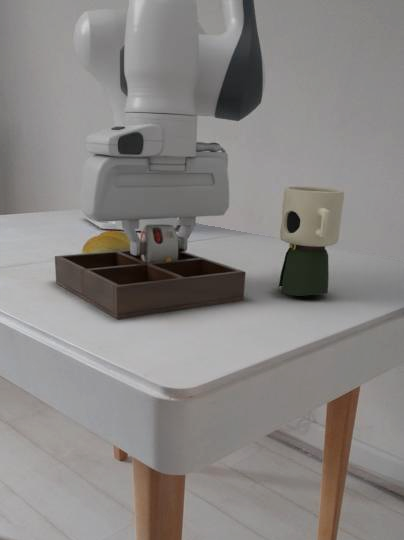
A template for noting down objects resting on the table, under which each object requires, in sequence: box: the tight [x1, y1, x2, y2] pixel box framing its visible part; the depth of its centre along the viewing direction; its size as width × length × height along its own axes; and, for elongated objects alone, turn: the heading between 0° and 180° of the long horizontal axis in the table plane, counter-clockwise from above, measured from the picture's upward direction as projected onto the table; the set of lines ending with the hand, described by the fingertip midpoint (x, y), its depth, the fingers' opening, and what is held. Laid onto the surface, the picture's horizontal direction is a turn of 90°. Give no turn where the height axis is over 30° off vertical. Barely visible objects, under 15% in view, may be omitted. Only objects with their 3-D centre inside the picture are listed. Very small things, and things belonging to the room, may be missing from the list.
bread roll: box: [81, 230, 130, 254], centre depth 87 cm, size 8×9×4 cm
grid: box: [54, 250, 247, 320], centre depth 70 cm, size 17×17×4 cm
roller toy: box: [139, 225, 178, 263], centre depth 74 cm, size 4×6×6 cm
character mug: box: [277, 186, 345, 299], centre depth 70 cm, size 11×7×13 cm, turn 9°
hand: (158, 252), depth 74 cm, fingers closed on roller toy, 5 cm apart
